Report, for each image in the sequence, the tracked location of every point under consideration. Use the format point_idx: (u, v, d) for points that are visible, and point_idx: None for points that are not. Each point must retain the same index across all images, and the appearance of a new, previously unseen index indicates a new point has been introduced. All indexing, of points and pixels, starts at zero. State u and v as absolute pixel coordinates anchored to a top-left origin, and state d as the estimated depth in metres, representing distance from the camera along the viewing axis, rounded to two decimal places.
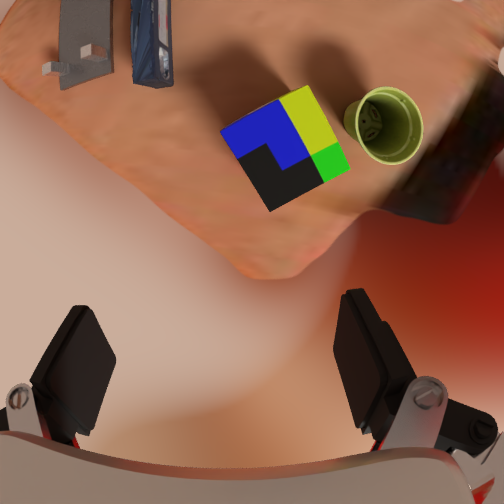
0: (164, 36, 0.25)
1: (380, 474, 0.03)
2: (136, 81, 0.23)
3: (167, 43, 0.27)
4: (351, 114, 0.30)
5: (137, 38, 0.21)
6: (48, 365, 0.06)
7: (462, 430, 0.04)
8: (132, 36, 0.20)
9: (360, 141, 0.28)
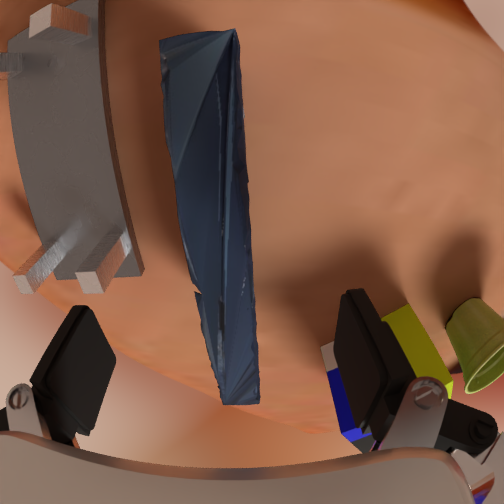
0: None
1: (380, 474, 0.03)
2: (229, 403, 0.15)
3: None
4: (465, 341, 0.22)
5: (224, 354, 0.13)
6: (48, 365, 0.06)
7: (462, 430, 0.04)
8: (212, 350, 0.13)
9: (466, 388, 0.20)
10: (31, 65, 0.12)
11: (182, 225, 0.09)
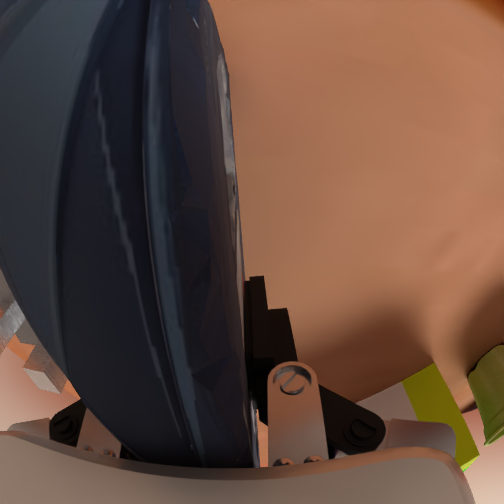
0: None
1: (380, 474, 0.03)
2: None
3: None
4: (489, 396, 0.17)
5: None
6: None
7: (336, 426, 0.06)
8: None
9: (486, 444, 0.14)
10: None
11: (113, 434, 0.04)
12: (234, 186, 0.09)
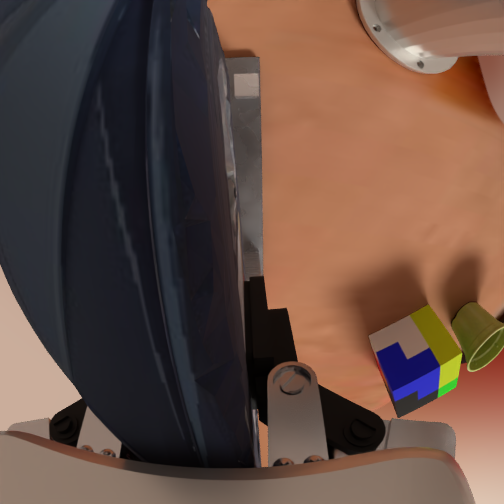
0: None
1: (380, 474, 0.03)
2: None
3: None
4: (466, 332, 0.32)
5: None
6: None
7: (335, 426, 0.06)
8: None
9: (468, 365, 0.30)
10: None
11: (117, 437, 0.04)
12: (235, 189, 0.09)
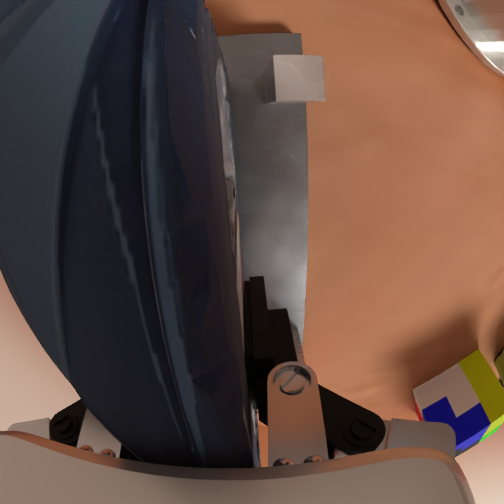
0: None
1: (380, 474, 0.03)
2: None
3: None
4: None
5: None
6: None
7: (335, 426, 0.06)
8: None
9: None
10: None
11: (116, 437, 0.04)
12: (234, 189, 0.09)
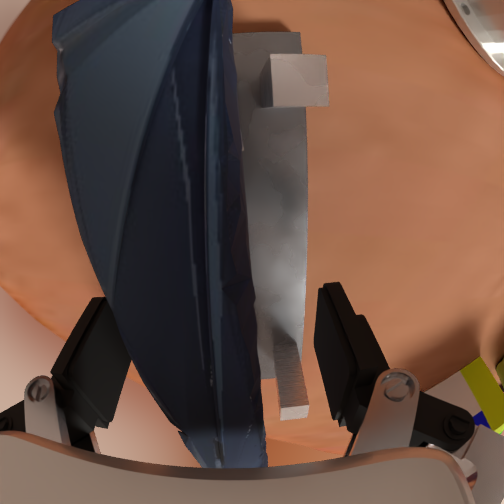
0: None
1: (380, 474, 0.03)
2: None
3: None
4: None
5: None
6: (71, 356, 0.07)
7: (436, 424, 0.05)
8: None
9: None
10: None
11: (141, 373, 0.05)
12: None
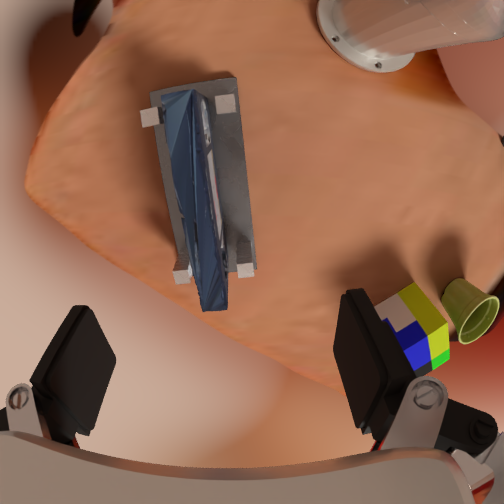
0: (219, 218, 0.27)
1: (380, 474, 0.03)
2: (206, 310, 0.25)
3: (220, 218, 0.29)
4: (454, 306, 0.36)
5: (199, 261, 0.22)
6: (49, 365, 0.06)
7: (462, 430, 0.04)
8: (191, 257, 0.22)
9: (459, 337, 0.33)
10: None
11: (174, 180, 0.19)
12: (209, 140, 0.25)
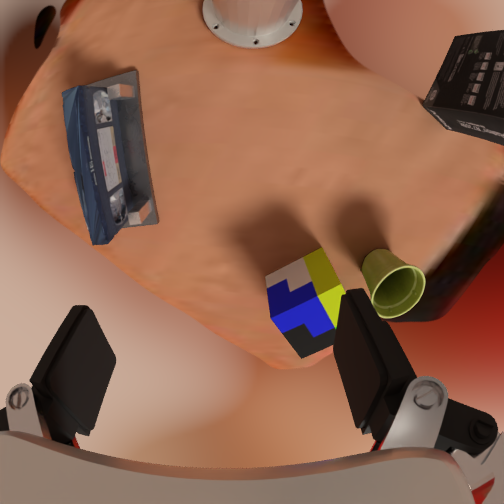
0: (114, 176, 0.31)
1: (380, 474, 0.03)
2: (95, 244, 0.29)
3: (120, 178, 0.33)
4: (369, 275, 0.40)
5: (86, 203, 0.27)
6: (48, 365, 0.06)
7: (462, 430, 0.04)
8: (81, 201, 0.27)
9: None
10: None
11: (68, 146, 0.24)
12: (110, 119, 0.29)
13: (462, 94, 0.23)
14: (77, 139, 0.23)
